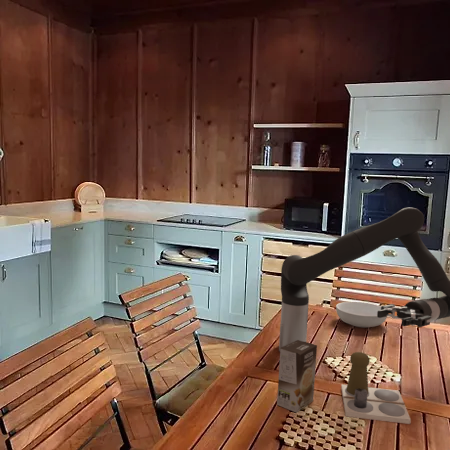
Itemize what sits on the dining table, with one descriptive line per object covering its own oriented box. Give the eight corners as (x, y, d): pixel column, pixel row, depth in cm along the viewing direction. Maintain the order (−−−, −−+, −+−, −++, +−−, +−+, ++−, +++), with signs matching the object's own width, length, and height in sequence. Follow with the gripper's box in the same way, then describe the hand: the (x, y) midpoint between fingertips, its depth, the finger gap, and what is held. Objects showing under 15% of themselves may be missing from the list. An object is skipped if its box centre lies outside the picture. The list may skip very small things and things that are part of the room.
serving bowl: (392, 322, 200) (393, 306, 200) (379, 336, 183) (380, 319, 182) (344, 313, 211) (345, 298, 210) (327, 325, 194) (328, 309, 193)
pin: (354, 407, 125) (355, 393, 124) (353, 401, 128) (354, 387, 127) (367, 409, 124) (368, 394, 123) (365, 403, 127) (366, 389, 127)
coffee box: (296, 413, 123) (300, 354, 121) (276, 405, 127) (279, 347, 125) (314, 400, 130) (317, 344, 128) (294, 393, 134) (297, 338, 132)
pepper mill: (369, 397, 130) (372, 359, 129) (346, 394, 132) (349, 356, 130) (367, 387, 136) (370, 350, 135) (345, 384, 138) (348, 348, 136)
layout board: (345, 416, 123) (345, 411, 123) (341, 388, 138) (341, 383, 138) (410, 424, 120) (410, 418, 120) (398, 394, 136) (398, 389, 136)
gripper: (403, 294, 156) (371, 300, 147) (444, 306, 145) (412, 313, 135) (401, 316, 157) (369, 323, 148) (441, 329, 146) (409, 338, 136)
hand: (390, 318), depth 142 cm, fingers open, 8 cm apart
